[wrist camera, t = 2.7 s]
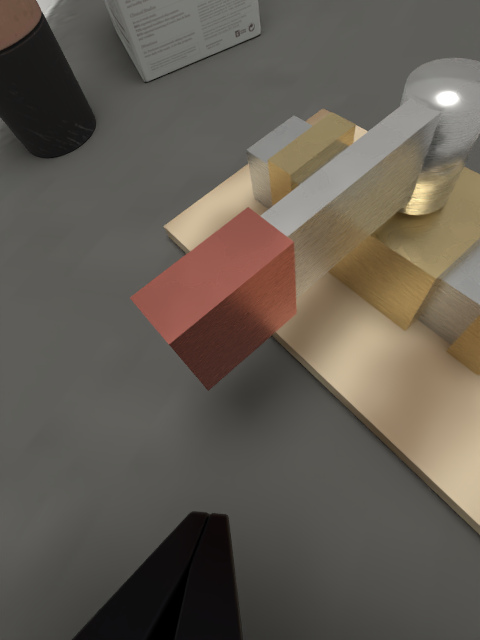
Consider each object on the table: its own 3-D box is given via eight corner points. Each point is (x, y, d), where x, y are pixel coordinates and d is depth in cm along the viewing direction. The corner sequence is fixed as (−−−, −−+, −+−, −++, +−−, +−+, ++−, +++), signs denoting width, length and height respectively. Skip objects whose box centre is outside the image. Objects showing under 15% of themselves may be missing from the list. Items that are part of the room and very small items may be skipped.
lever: (408, 157, 18) (443, 42, 13) (464, 186, 16) (524, 70, 12) (174, 351, 15) (121, 287, 11) (220, 404, 14) (180, 357, 9)
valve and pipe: (596, 338, 18) (697, 282, 13) (522, 422, 17) (605, 391, 12) (305, 159, 27) (305, 88, 22) (243, 206, 25) (230, 141, 21)
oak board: (697, 323, 19) (721, 313, 18) (505, 560, 16) (520, 564, 15) (322, 122, 30) (323, 108, 29) (169, 237, 27) (163, 226, 26)
